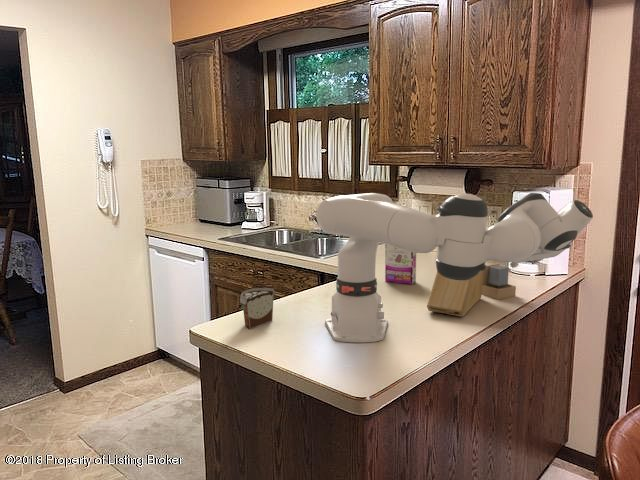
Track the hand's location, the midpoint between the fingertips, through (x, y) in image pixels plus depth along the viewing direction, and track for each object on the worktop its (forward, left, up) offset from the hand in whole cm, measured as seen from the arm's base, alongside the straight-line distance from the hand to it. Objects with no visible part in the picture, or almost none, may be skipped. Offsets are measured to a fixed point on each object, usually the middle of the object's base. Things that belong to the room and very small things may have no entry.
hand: (522, 264), depth 176 cm
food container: (-21, +87, -13) cm, 91 cm away
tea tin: (+8, +5, -13) cm, 16 cm away
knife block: (-1, +21, -13) cm, 25 cm away
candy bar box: (+26, +37, -13) cm, 47 cm away
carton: (+8, +5, -13) cm, 16 cm away
